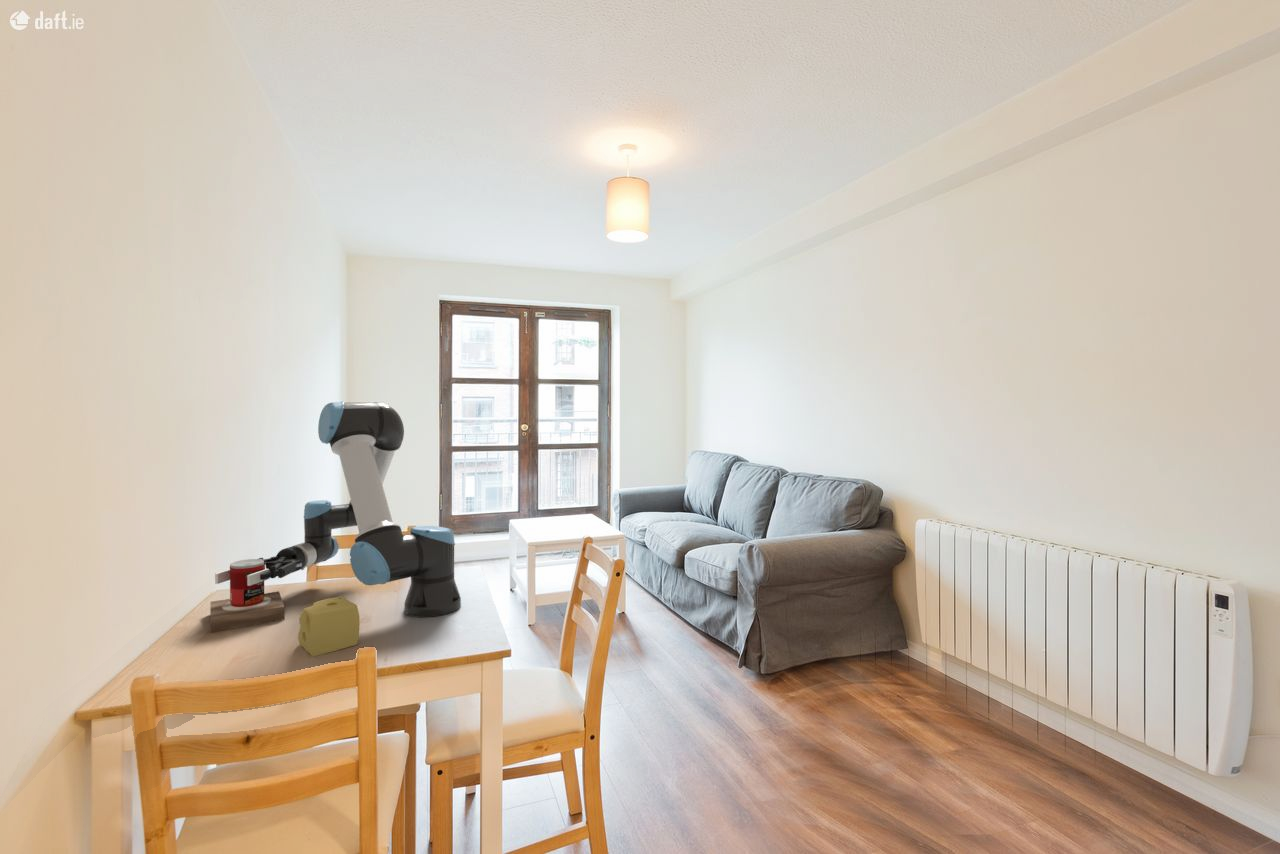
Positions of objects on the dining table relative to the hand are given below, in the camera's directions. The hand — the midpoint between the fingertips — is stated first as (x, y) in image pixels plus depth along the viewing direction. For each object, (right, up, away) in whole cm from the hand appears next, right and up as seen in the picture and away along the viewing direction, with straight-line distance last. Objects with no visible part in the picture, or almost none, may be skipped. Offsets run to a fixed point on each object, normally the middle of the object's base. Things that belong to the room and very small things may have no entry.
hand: (232, 579), depth 153 cm
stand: (+1, -11, +5) cm, 12 cm away
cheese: (+33, -12, -14) cm, 38 cm away
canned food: (+1, -8, +5) cm, 9 cm away
